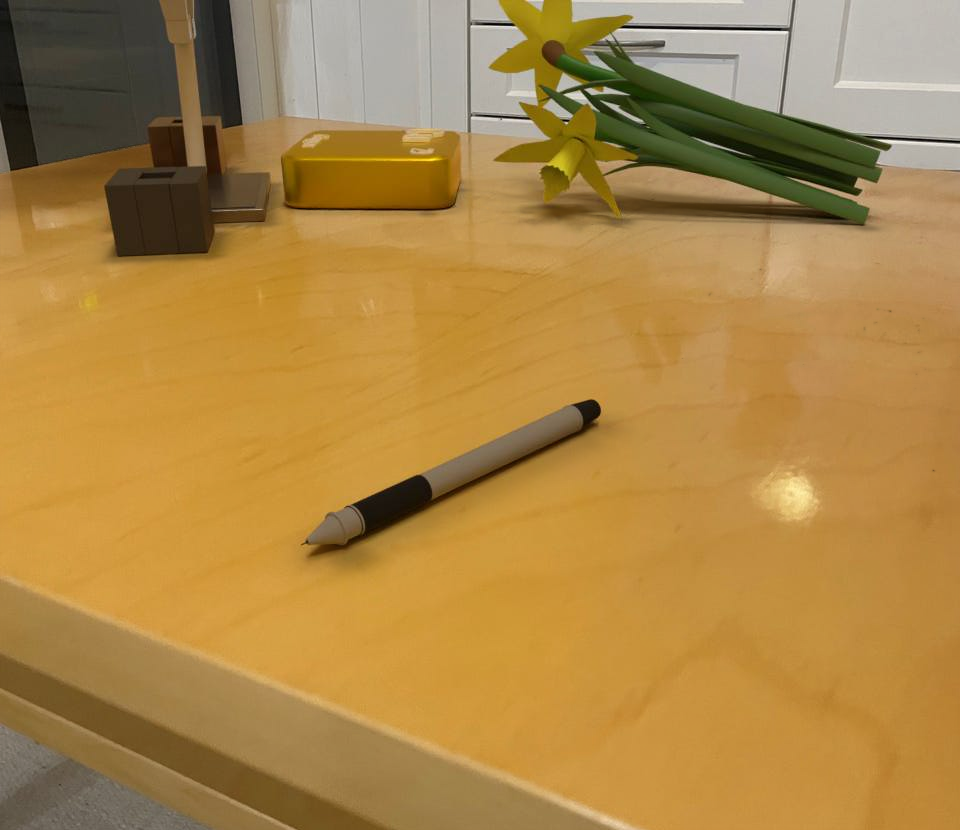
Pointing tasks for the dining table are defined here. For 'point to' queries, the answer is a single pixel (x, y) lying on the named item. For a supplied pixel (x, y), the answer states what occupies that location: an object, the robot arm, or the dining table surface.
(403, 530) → the dining table surface
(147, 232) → the holder
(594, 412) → the pen
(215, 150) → the stand
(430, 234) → the dining table surface
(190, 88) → the tan wooden bar
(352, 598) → the dining table surface
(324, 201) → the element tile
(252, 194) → the tablet
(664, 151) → the daffodil flowers
